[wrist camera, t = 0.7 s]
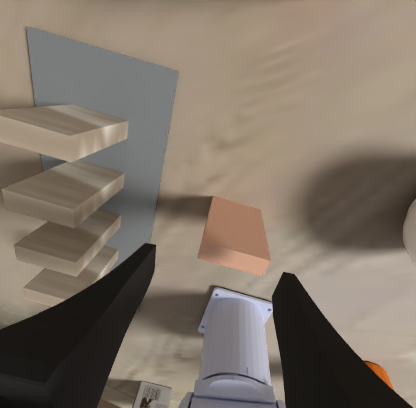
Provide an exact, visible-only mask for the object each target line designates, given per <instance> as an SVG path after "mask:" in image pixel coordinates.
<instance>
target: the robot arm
mask: <svg viewBox="0 0 416 408" xmlns="http://www.w3.org/2000/svg"><path fill="white" fill-rule="evenodd" d="M155 254H156V245H154V244H149V243H144V244H143V245H142V246H141V247H140V248H138V249H137V250H136V251H135V252H134V253H133V254H132V255H130V256H129V257H128V258H127V259H126V260H124V261H123V262H122V263H121V264H119V265H118V266H117V267H116V268H114V269H113V270H112V271H110V272H109V273H108V274H106V275H105V276H103V277H102V278H101V279H99V280H98V281H96V282H95V283H93V284H92V285H90V286H89V287H87V288H85V289H84V290H82V291H80V292H79V293H77V294H75V295H73V296H72V297H70V298H68V299H66V300H64V301H63V302H61V303H59V304H57V305H55V306H53V307H51V308H49V309H47V310H45V311H43V312H40V313H38V314H36V315H34V316H32V317H30V318H27V319H25V320H23V321H20V322H18V323H15V324H13V325H10V326H8V327H6V328H3V329H1V330H0V408H97V406H98V403H99V400H100V398H101V395H102V392H103V390H104V387H105V384H106V382H107V379H108V376H109V374H110V371H111V368H112V366H113V363H114V361H115V358H116V356H117V353H118V351H119V348H120V346H121V343H122V341H123V338H124V336H125V333H126V331H127V329H128V327H129V325H130V323H131V321H132V319H133V317H134V315H135V313H136V311H137V309H138V307H139V305H140V303H141V301H142V299H143V297H144V295H145V293H146V291H147V289H148V287H149V284H150V282H151V279H152V276H153V274H154V270H155ZM216 293H217V294H216ZM272 312H273V318H274V324H275V329H276V335H277V340H278V346H279V351H280V357H281V363H282V370H283V381H284V392H285V404H284V402H283V401H282V400H275V392H274V387H273V386H271V379H270V370H269V361H268V353H267V344H266V335H265V327H264V324H265V323H266V321H267V320H268V318H269V317H270V315H271V313H272ZM198 332H200V333H203V334H204V340H203V347H202V355H201V362H200V369H199V378H198V380H196V381H195V388H194V392H188V393H187V394H186V396H185V397H184V398H183V400H182V401H181V402H180V405H179V407H178V408H413V407H412V406H410V405H409V404H408V403H407V402H406V401H405V400H404V399H403V398H401V397H400V396H399V395H398V394H397V393H396V392H395V391H394V390H393V389H391V388H390V387H389V386H388V385H387V384H386V383H385V382H384V381H383V380H382V379H381V378H380V377H379V376H378V375H377V374H376V373H375V372H374V371H373V370H372V369H371V368H370V367H369V366H368V365H367V364H366V363H365V362H364V361H363V360H362V359H361V358H360V357H359V356H358V355H357V354H356V353H355V352H354V351H353V350H352V349H351V347H350V346H349V345H348V344H347V343H346V342H345V341H344V340H343V339H342V337H341V336H340V335H339V334H338V333H337V331H336V330H335V329H334V328H333V327H332V325H331V324H330V323H329V322H328V320H327V319H326V318H325V316H324V315H323V314H322V312H321V311H320V310H319V308H318V307H317V306H316V304H315V303H314V302H313V300H312V299H311V297H310V296H309V294H308V293H307V292H306V290H305V289H304V287H303V286H302V284H301V283H300V281H299V280H298V279H297V277H296V276H295V274H291V273H286V272H283V274H282V276H281V278H280V280H279V282H278V285H277V287H276V289H275V291H274V293H273V295H272V302H268V301H265V300H261V299H258V298H254V297H251V296H247V295H244V294H240V293H237V292H233V291H230V290H226V289H223V288H219V287H216V288H214V290H213V292H212V295H211V297H210V300H209V302H208V305H207V307H206V310H205V312H204V315H203V317H202V320H201V322H200V325H199V327H198Z"/></svg>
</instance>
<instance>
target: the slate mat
mask: <svg viewBox="0 0 416 408" xmlns="http://www.w3.org/2000/svg"><path fill="white" fill-rule="evenodd" d="M26 29H27V38H28V47H29V55H30V64H31V73H32V81H33V90H34V99H35V107H43V106H57V105H70V104H74V105H77V106H80V107H84V108H87V109H91V110H94V111H97V112H101V113H104V114H108V115H111V116H114V117H118V118H121V119H125V120H128V134H127V139H125V140H123V141H121V142H118V143H116V144H114V145H111V146H109V147H106V148H104V149H102V150H99V151H97V152H95V153H92V154H90V155H88V156H85V157H83V158H80V159H78V160H81V161H85V162H88V163H92V164H95V165H99V166H102V167H105V168H109V169H112V170H116V171H119V172H123V173H124V185H123V188H122V189H121V190H120V191H118V192H117V193H116V194H115V195H114V196H112V197H111V198H110V199H109V200H108V201H106V202H105V203H104V204H103V205H102V206H100V207H99V209H102V210H106V211H109V212H113V213H116V214H119V215H121V223H120V228H119V229H118V230H117V231H116V232H115V233H114V234H113V236H112V237H111V238H110V239H109V240H108V241H107V242H106V244H105V246H109V247H112V248H116V249H118V259H117V261H116V262H115V264H114V265H113V266H112V268H111V269H110V271H112V270H113V269H114V268H116V267H117V266H118V265H119V264H121V263H122V262H123V261H124V260H126V259H127V258H128V257H129V256H130V255H132V254H133V253H134V252H135V251H136V250H137V249H138V248H140V247H141V246H142V245H143V244H144V243H149V244H150V241H151V235H152V229H153V223H154V217H155V211H156V205H157V199H158V193H159V187H160V181H161V175H162V169H163V163H164V157H165V151H166V145H167V139H168V133H169V127H170V121H171V115H172V109H173V103H174V97H175V91H176V85H177V79H178V73H179V72H178V71H175V70H172V69H169V68H165V67H162V66H159V65H155V64H152V63H149V62H145V61H142V60H138V59H135V58H132V57H128V56H125V55H122V54H118V53H115V52H112V51H108V50H105V49H102V48H98V47H95V46H92V45H88V44H85V43H82V42H78V41H75V40H71V39H68V38H65V37H61V36H58V35H55V34H51V33H48V32H45V31H41V30H38V29H35V28H31V27H28V26H26ZM41 160H42V168H43V172H44V171H46V170H49V169H51V168H53V167H56V166H58V165H61V164H63V163H66V162H68V161H65V160H61V159H58V158H54V157H51V156H47V155H44V154H41ZM110 271H109V272H110ZM109 272H108V273H109ZM108 273H107V274H108ZM139 307H140V305H139ZM139 307H138V309H137V311H136V313H135V314H138V312H139Z"/></svg>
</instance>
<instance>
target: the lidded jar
mask: <svg viewBox="0 0 416 408" xmlns="http://www.w3.org/2000/svg"><path fill="white" fill-rule="evenodd" d="M403 242H404V245H405V248H406V251H407V254H408V255H409V257H410V259H411V261H412V262H413V264H414V265H415V267H416V198H415V199H414V201H413V202H412V203H411V205H410V207H409V208H408V211H407V215H406V219H405V221H404V225H403Z"/></svg>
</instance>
